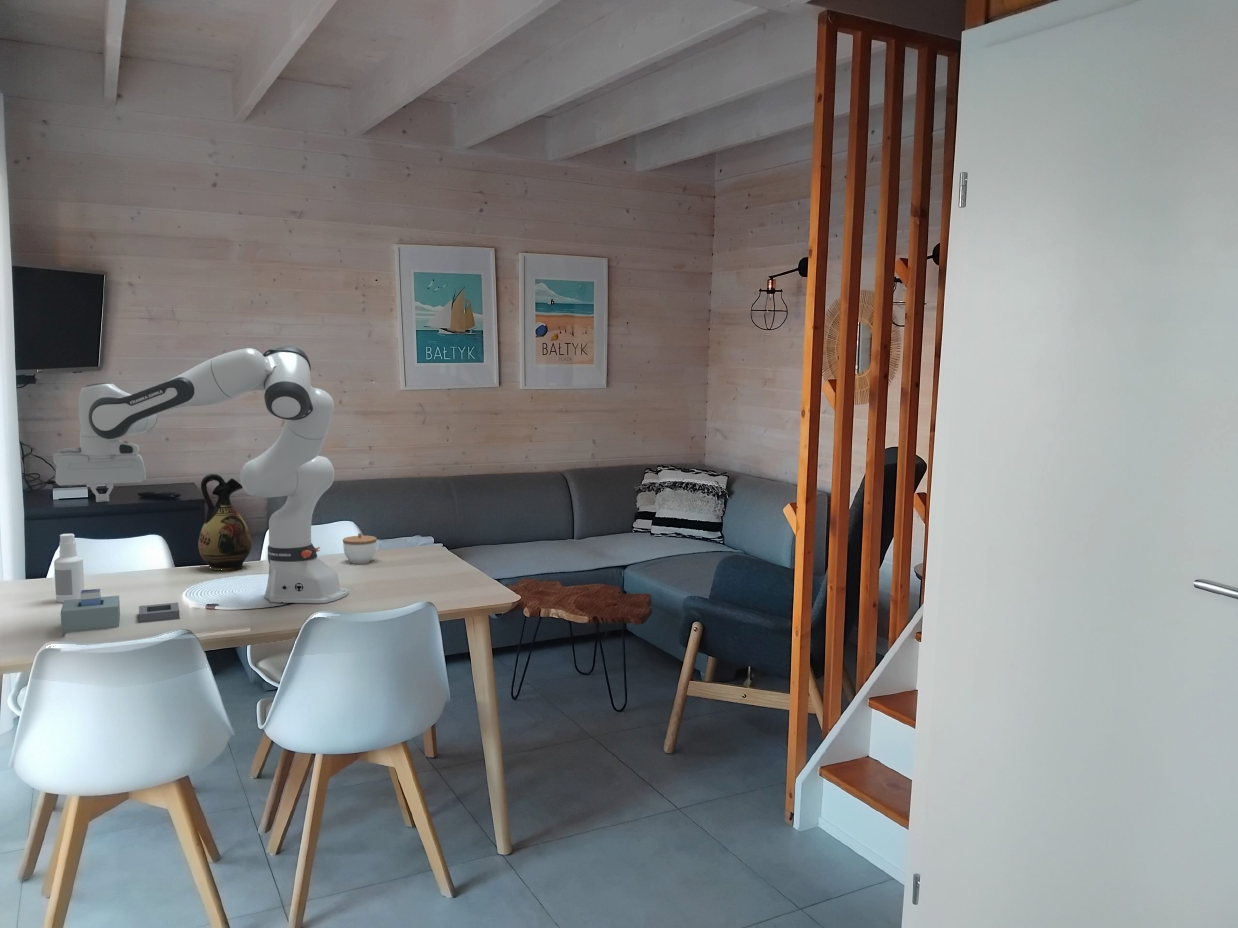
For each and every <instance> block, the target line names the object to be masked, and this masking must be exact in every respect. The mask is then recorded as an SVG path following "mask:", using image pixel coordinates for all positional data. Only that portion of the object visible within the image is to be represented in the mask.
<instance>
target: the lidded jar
mask: <svg viewBox="0 0 1238 928" xmlns="http://www.w3.org/2000/svg"><path fill="white" fill-rule="evenodd" d="M357 534H358V535H351V536H347V537H344V538H343V539H342V543H343V544H342V545H343V552H344V555H345V558H346V559H347V560H348V561H350V563H351V564H357V565H358V564H369V563H370V562H371V560H372V559H373V558H374V556H376V552H377V542H378V541H377V540H378V539H377V537H376V536H372V535H362V533H357Z"/></svg>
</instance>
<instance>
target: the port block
mask: <svg viewBox="0 0 1238 928" xmlns="http://www.w3.org/2000/svg"><path fill="white" fill-rule="evenodd" d="M120 603H121V602H120V595H119V594H118V595H111V596H110V595H109V596H101V605H93V606H82V607H81V599H72V600H64V602H63V603H62V607H61V608H60V622H61V623H60V626H61V629H60V630H61V637H65V636H66V633H71V632H79V631H81V632H82V631H91V630H100V629H111V628H118V627H120V622H121V621H120V619H121V610H120V609H121V607H120Z"/></svg>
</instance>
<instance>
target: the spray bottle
mask: <svg viewBox="0 0 1238 928" xmlns="http://www.w3.org/2000/svg"><path fill="white" fill-rule="evenodd" d="M75 536H76V535H75V534H74V533H62V534H59V543H58V544H59V557H58V558H56V559H54V560H53V564H54V565H53V567H54V585H55V601H56V602H57V603H61V604H63V602H64V600H72V599H81V596H80V593H81V590H85V578H84V577H85V575H84V574H85V573H84V559H83V558H82V557H80V556H78V552H77V542H76V540H75Z"/></svg>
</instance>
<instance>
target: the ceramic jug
mask: <svg viewBox="0 0 1238 928" xmlns="http://www.w3.org/2000/svg"><path fill="white" fill-rule="evenodd" d="M213 481H216V482H218V485H217V486H216V487H215V488H214V489H213V490H212V495H213V496H217V501H216V503H215V505H214V503H213V501H212V499H211V497H210V494H209V492H208V486H207V485H208V483H209V482H213ZM200 489H201V492H202V493H201V494H202V496H203V498H204V501H205V504H206V506H207V511H206V512H207V513H206V518H205V522H204V523H203V525H202V526H201V530H200V531H199V537H198V550H199V551H198V552H199V555H200V557H201V559H203V561H204V562H205V563H206V564H207V565H208V569H209V570H212V569H216V570H215V571H219V570H221V569H222V570H226V571H238V570H240V568H241V567H242V568H244V567H243V564H244V562H245V561H246V559H247V558H248V556H249V555H250V554H251V550H252V545H253V544H252V537H251V533H250V530H249V528H248V527H249V526H248V525H247V524H246V522H245V520H244V519H243V517H242V516H241V515H240V513H239V512H238V511H237V509H236V508H235V507H234V506H233V504H232V502H231V499H230V496H231V495H233V493H235V492H237V491H240V490H241V489H243V487H242V485H241V483H240V482H239V481H237V480H235V479H234V478H233V477H231V478H230V479H228V481H227V482H226V481H225V479H224V478H223V476H221V475H219V474H217V473H209V474H206V475H205V476H204V477H203V478H202V479H201V483H200ZM209 567H211V568H209ZM242 568H241V569H242ZM226 571H225V572H226Z"/></svg>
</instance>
